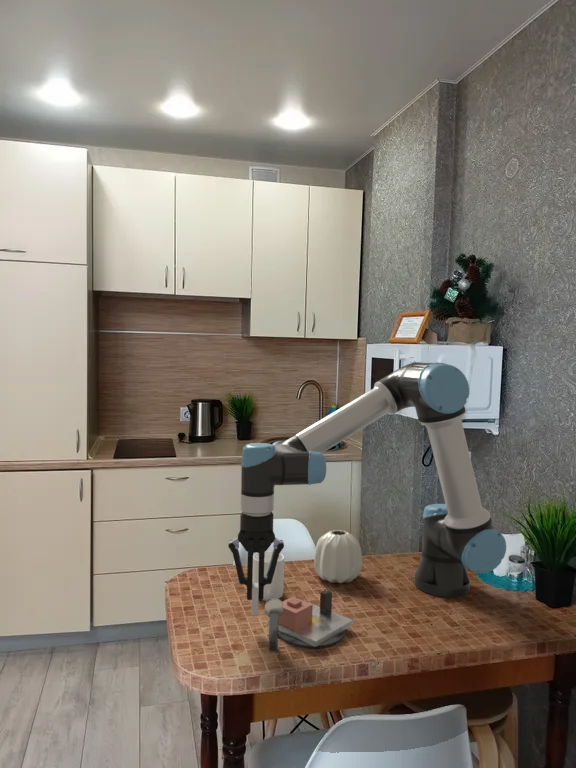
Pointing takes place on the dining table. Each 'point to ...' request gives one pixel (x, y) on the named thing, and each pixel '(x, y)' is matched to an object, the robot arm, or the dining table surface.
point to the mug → (278, 579)
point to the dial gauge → (273, 621)
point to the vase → (338, 557)
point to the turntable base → (302, 644)
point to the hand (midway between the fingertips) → (254, 612)
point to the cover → (296, 613)
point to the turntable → (320, 623)
